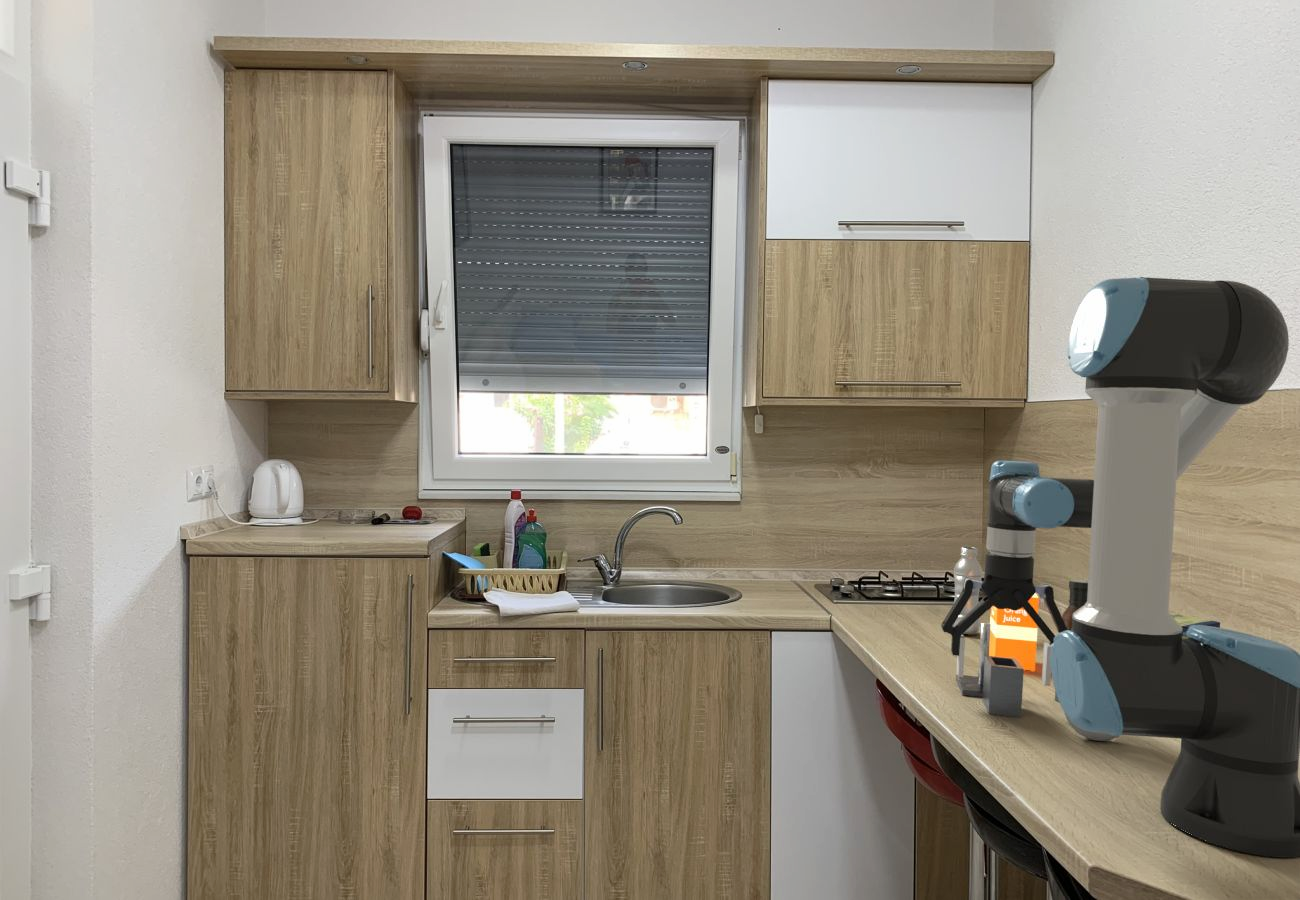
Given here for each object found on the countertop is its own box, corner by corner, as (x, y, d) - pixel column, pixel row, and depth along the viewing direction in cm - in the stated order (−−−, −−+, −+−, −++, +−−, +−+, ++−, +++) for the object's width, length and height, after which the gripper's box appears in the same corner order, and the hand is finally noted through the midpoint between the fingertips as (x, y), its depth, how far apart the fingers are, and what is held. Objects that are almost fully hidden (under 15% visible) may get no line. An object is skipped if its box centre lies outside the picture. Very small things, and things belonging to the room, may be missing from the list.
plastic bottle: (950, 635, 201) (955, 548, 200) (949, 629, 207) (953, 545, 207) (980, 638, 199) (985, 550, 199) (978, 632, 206) (983, 547, 205)
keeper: (1010, 700, 152) (1014, 631, 152) (962, 695, 154) (966, 627, 154) (1001, 684, 162) (1004, 620, 162) (955, 679, 164) (959, 616, 164)
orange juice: (993, 667, 174) (999, 567, 174) (987, 656, 183) (992, 561, 182) (1036, 671, 172) (1041, 570, 172) (1027, 660, 181) (1033, 564, 180)
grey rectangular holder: (1021, 717, 143) (1023, 668, 143) (988, 713, 144) (991, 665, 144) (1013, 704, 150) (1015, 658, 150) (982, 701, 151) (984, 655, 151)
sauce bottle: (1099, 695, 158) (1106, 585, 158) (1062, 691, 159) (1069, 582, 159) (1089, 684, 165) (1095, 579, 164) (1053, 681, 166) (1059, 577, 165)
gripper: (1085, 555, 147) (1077, 680, 148) (929, 544, 153) (923, 665, 154) (1097, 562, 140) (1088, 694, 141) (933, 550, 146) (926, 677, 146)
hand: (1002, 679), depth 147 cm, fingers open, 13 cm apart
